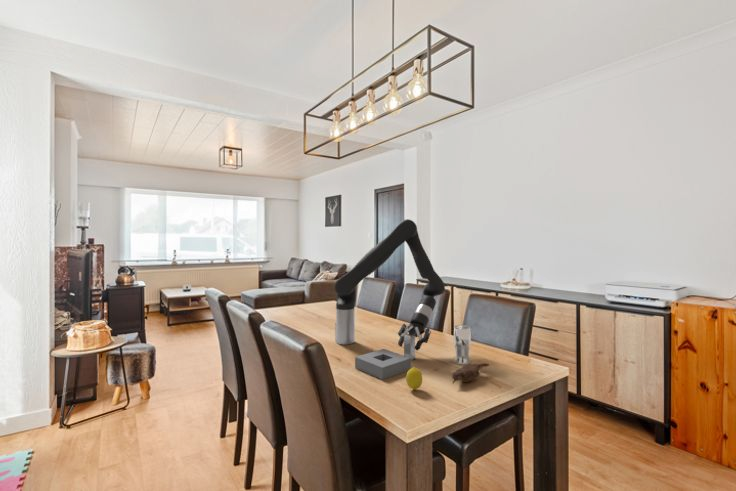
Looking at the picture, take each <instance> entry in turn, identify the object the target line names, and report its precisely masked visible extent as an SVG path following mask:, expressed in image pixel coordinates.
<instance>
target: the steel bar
mask: <svg viewBox="0 0 736 491" xmlns="http://www.w3.org/2000/svg"><path fill="white" fill-rule="evenodd" d="M407 334H408V335H405V336H404V343H403V355H404V356H407V357H410V358H411V361H413V360H414V359H416V349H415V346H416V337H415V335H410V334H409V333H407Z"/></svg>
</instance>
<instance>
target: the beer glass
mask: <svg viewBox="0 0 736 491" xmlns="http://www.w3.org/2000/svg"><path fill="white" fill-rule="evenodd" d="M453 328H454V329H453V344H454V349H455V358H454V363H455V364H456V365H461V366H462V365H463V366H466V365H470V364H471V363H470V362H471V361H470V354H469V353H470V347H471V342H472V335H471V327H470V326H468V325H465V324H464V325H462V324H461V325H460V324H459V325H458V324H457V325H454V327H453Z"/></svg>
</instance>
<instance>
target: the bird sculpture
mask: <svg viewBox="0 0 736 491" xmlns="http://www.w3.org/2000/svg"><path fill="white" fill-rule="evenodd" d="M488 366H490V364H489V363H485V362H483V363H474V364H467V365H463V366H461V367H460V368H457V369H456V370H455V371H454V372H453V373H452V379H453V380H452V384H454V383H455V382H459V381H460V382H463V383H469V382H471V381H474V380H476V379H477V377H479V376H480V370H481V369H483V368H485V367H488Z"/></svg>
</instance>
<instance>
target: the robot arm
mask: <svg viewBox="0 0 736 491" xmlns="http://www.w3.org/2000/svg"><path fill="white" fill-rule="evenodd" d="M419 236H420V235H419V232H418V226H417V224H416V222H414V221H413V220H411V219H409V218H408V219H407V218H406V219H403V220H401V221H400V222H399V223H398V224H397V225H396V226H395V227H394V229H393V230H392V231H391V232H390V233H389V234H388V235H387V236H386V237H384V238H383V239H382V240H381V241H380V242H378V243H377V244H376V245H374V246H373V247H372V248H371V249H369V251H368V252H367V253H366V254H365V255H364V256H362V258H361V259H360V260H359V261H358V262H357V263H356V264H355V265H354V266H353V267H352V268H351V269H350V270H349V271H348V272H347V273H345V274H344V275H342V276H340V278H338V279H337V280H336V281H335V282H334V291H335V292H336V294H337V300H336V304H335V310H336V312H335V317H336V318H335V323H334V324H335V326H334V330H335V338H334V339H335V342H336V344H338V345H343V346H345V345H352V344H354V343H355V339H356V338H355V331H356V330H355V322H356V321H355V319H356V318H355V314H356V313H355V303H356V287H357V286H358V284H360V283H361V281H362V280H364V279H365V278H367V277H369V276H370V275H371V274H373V272H375V271H376V270H378V269H379V268H380V267H382V266H383V264H385V263H386V261H388V260H389V259H390V257H391V256H393V254H394V252H395V251H396V249H398V248H399V247H400V246H401V245H403V244H404V243H406V244H407V246H408V248H409V250H410V253H411V256H412V258H413V260H414V261H413V262H414V264H415V266H416V270H418V272H419V275H420V277H421V278H422V279H424V280H425V279H426V280H427V281H428V282H427V283H426V284H425V285H424V286H423V289H422V292H421V293H422V294H421V299H420V300H419V303H418V305H417V307H416V309H415V311H414V313H413V315H412V317H411V319H410V322H409V324H408V325H407V324H405V323H403V324H402V325H401V327H400V328H399V331H398V332H397V335H398V336H399V339H398V342H397V345H398V346H399V347H402V346H404V336H405V335H408V334H410V335H415V338H418V340H417V342H416V343H415V351H419V350H420V349H421V346H422V344H424V343H425V344H427V343H428V341H429V339H430V336H431V334H432V332H431V329H430V328H429V327H428V325H429V322H430V320H431V317H432V314H433V312H434V309H435V308H436V304H437V300H436V298H435V297H437V296H439V295H440V296H441V295H443V294H444V293H445V291H446V286H445V283H444V281H443V279H442V277H440V275H439V274H438V273H437V272H436V270H435V269H434V267H433V264H432V263H431V259H429V257H428V254H427V253H426V251H425V249H424V247H423V244H422V242H421V240H420V237H419ZM423 334H424V335H423Z"/></svg>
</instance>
